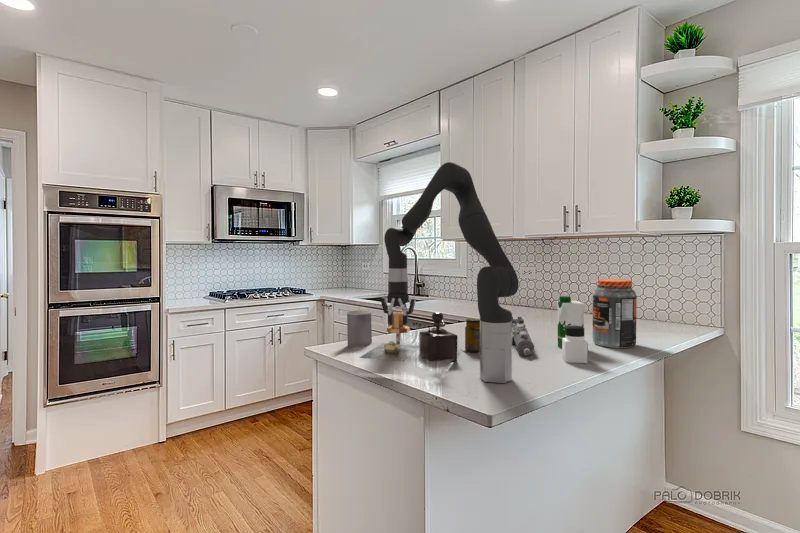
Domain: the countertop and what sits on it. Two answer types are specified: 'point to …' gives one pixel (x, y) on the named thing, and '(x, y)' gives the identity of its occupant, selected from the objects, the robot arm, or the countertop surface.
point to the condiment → (472, 336)
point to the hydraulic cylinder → (521, 337)
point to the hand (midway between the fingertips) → (398, 324)
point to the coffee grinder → (438, 342)
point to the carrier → (391, 351)
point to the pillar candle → (359, 328)
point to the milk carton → (568, 315)
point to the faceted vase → (398, 324)
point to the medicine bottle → (574, 345)
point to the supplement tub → (614, 313)
